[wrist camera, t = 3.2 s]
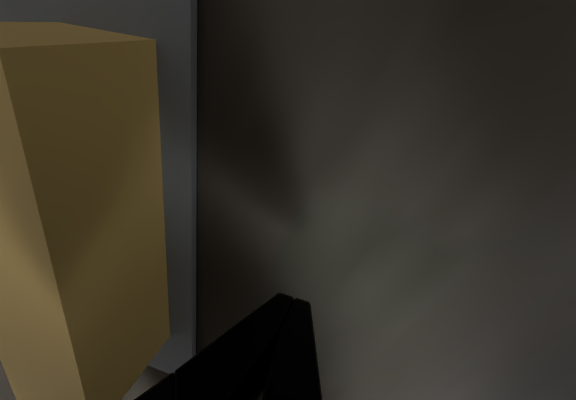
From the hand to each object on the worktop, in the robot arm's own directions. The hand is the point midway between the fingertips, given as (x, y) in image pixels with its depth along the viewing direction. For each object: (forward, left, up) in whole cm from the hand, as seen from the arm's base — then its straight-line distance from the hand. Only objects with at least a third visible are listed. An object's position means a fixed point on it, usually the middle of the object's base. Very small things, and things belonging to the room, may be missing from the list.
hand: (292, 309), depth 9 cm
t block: (+10, 0, -2) cm, 10 cm away
